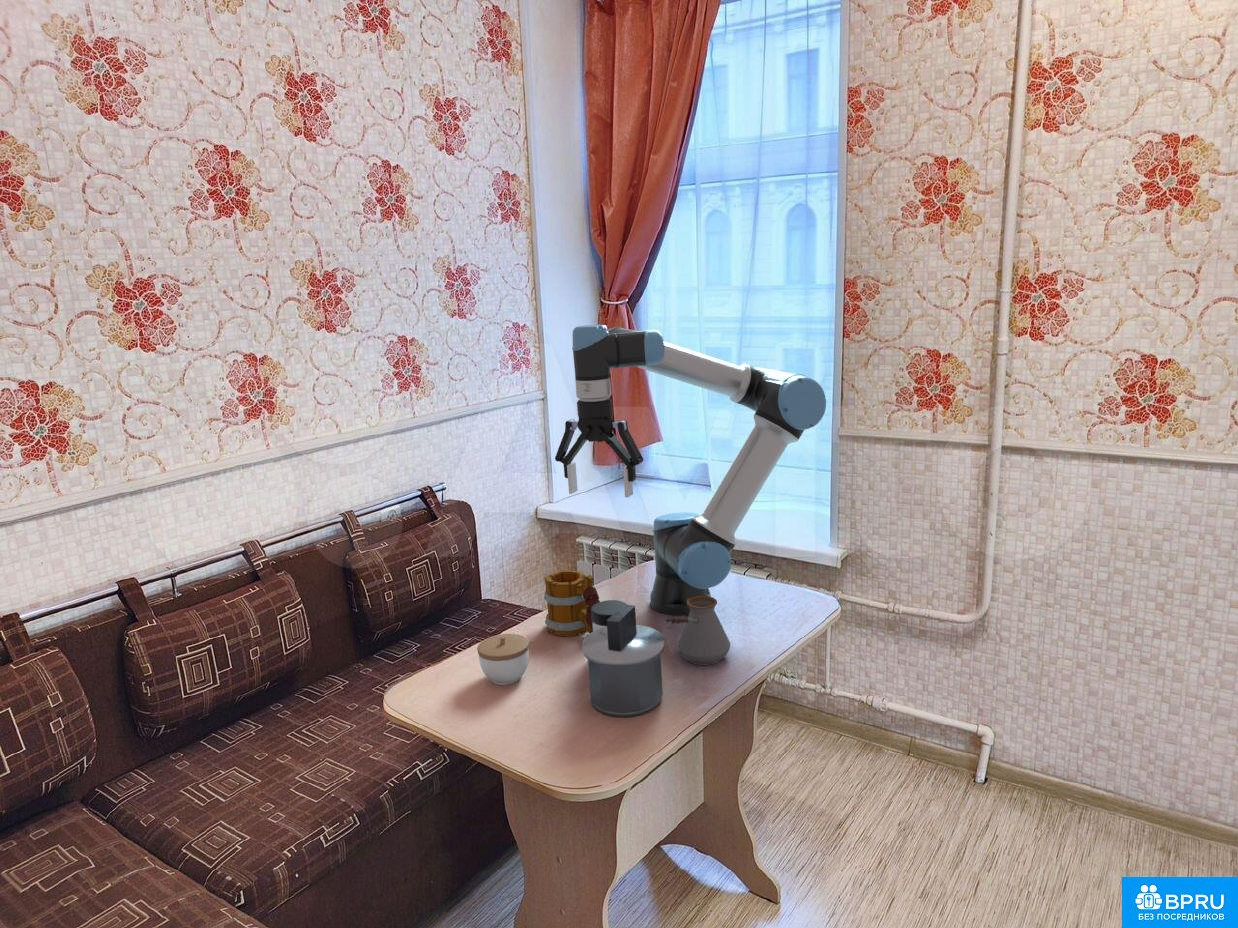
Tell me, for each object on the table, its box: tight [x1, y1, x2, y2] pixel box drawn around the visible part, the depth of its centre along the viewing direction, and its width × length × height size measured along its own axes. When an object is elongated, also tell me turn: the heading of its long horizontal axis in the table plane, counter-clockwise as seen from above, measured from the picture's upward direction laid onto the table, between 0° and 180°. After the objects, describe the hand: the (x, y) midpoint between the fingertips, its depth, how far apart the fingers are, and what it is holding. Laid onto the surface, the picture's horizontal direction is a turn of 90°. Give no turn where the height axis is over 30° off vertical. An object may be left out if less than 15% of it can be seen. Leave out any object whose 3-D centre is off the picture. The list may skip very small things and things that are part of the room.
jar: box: [591, 599, 628, 632], centre depth 179 cm, size 9×8×12 cm
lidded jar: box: [477, 633, 530, 686], centre depth 174 cm, size 11×11×9 cm
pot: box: [585, 633, 664, 718], centre depth 164 cm, size 14×18×11 cm
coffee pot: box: [661, 596, 731, 666], centre depth 173 cm, size 21×12×15 cm, turn 147°
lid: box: [581, 604, 665, 667], centre depth 160 cm, size 16×16×8 cm
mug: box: [543, 569, 601, 637], centre depth 195 cm, size 11×16×15 cm, turn 46°
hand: (600, 494), depth 182 cm, fingers open, 13 cm apart
